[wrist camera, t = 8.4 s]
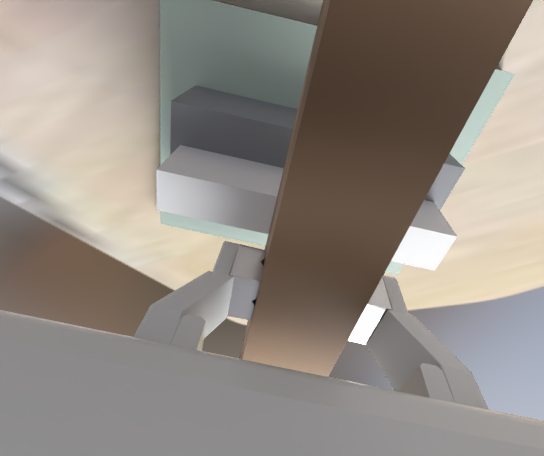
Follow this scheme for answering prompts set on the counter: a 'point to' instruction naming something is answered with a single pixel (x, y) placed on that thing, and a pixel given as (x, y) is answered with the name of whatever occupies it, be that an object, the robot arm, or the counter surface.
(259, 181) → the ridge stand
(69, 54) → the counter surface
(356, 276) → the walnut batten
